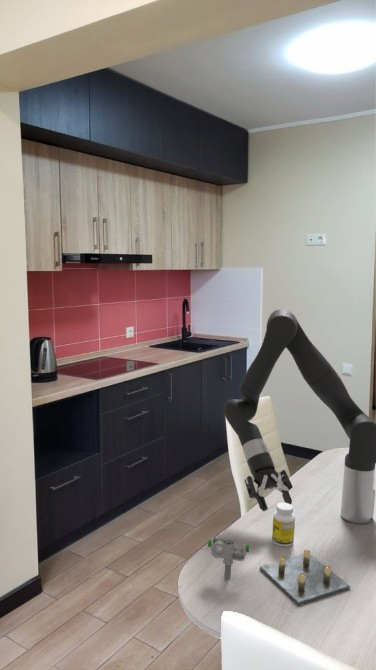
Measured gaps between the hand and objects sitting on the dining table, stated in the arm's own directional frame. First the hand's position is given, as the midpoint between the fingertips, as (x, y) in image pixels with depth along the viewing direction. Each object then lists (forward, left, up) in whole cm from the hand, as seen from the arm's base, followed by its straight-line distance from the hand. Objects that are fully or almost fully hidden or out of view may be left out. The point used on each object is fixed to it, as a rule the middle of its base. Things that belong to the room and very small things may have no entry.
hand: (277, 507), depth 153 cm
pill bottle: (0, +3, -9) cm, 10 cm away
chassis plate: (+6, +20, -9) cm, 23 cm away
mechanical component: (+24, +12, -9) cm, 28 cm away
